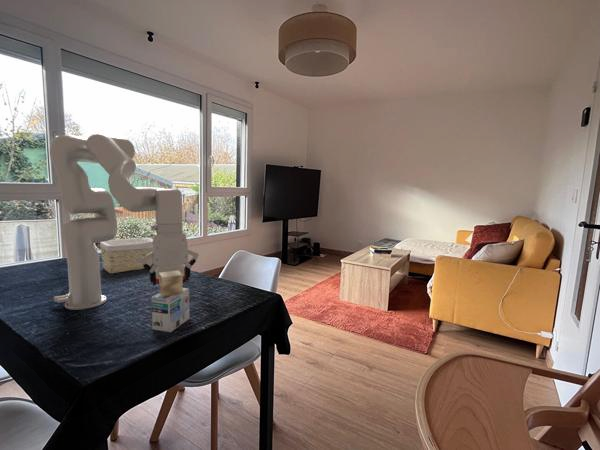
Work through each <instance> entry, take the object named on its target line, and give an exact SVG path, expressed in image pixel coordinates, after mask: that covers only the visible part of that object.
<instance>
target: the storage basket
mask: <svg viewBox="0 0 600 450" xmlns="http://www.w3.org/2000/svg"><path fill="white" fill-rule="evenodd" d="M152 246H153V238H151V237H134V238H133V237H131V238H121V239H120V238H119V239H112V240H109V241H104V242H99V247H100V250H101V251H100V252H101V260H102V267H103V269H104V270H105V271H106V272H107V273H109V274H116V273H117V274H118V273H122V272H123V273H124V272H129V271H138V270H142V269H143V270H144V269H145V268H144V267H143V265H142V264H141V262H140V261H139V259H140V258H141V257H143V256H145V255H147V254H149V253H150V252H152ZM146 263H147V264H148V265H149V266H151V265H152V264H153V261H152V257H151V258H150V259H148V260H146Z"/></svg>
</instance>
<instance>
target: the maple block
mask: <svg viewBox="0 0 600 450" xmlns="http://www.w3.org/2000/svg"><path fill="white" fill-rule="evenodd" d="M183 281H184V280H183V275H182V274H181V273H180V271H179V270H178V271H169V272H161V273H159V282H158V285H159V289H158V290H159V293H161V295H162V297H164V296H170V295H177V294H183V288H184V287H183V283H184V282H183Z"/></svg>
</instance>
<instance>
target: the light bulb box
mask: <svg viewBox="0 0 600 450" xmlns="http://www.w3.org/2000/svg"><path fill="white" fill-rule="evenodd" d="M151 314H152V315H151V318H152V330H154V331H160V332H167V333H172V332H173V331H175V330H176V329H177V328H179V327H180V326H181V325H183V324H184V323H185V322H187V321H188V320H190V288H187V287H183V294H177V295H170V296H164V297H162V295H161V293H160V292H159V293H156V294H155V295H153V296H151Z"/></svg>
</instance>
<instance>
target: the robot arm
mask: <svg viewBox="0 0 600 450" xmlns="http://www.w3.org/2000/svg"><path fill="white" fill-rule="evenodd" d="M135 149H136V148H135V145H134V144H133V143H132V141H130V140H129V139H128V138H126V137H124V136H118V135H112V134H106V133H94V134H91V135H90V136H88V137H83V136H80V135H78V136H77V135H70V134H69V135H67V134H63V135H59V136H56V137H55V138H54V139H53V140H52V141H51V143H50V147H49V157H50V161H51V163H52V165H53V168H54V170H55V172H56V175H57V180H58V185H59V193H60V197H61V198H60V199H61V202H62V203H61V204H62V207H63V210H64V212H66V213H67V214H69V215H74V216H75V215H77V216H80V215H94V217H93V216H92V217H82V218H75V219H70V220H68V221H66V222H65V223H63V225H62V227H61V230H60V231H61V237H62V240H63V243H64V247H65V254H66V263H67V274H68V275H67V276H68V289H69V291H68V293H66V294H65V295H56V296H54V297H53V302H54V303H56V302H57V303H58V304H59V303H64V302H65V303H64V307H65V309H68V310H71V311H72V310H73V311H75V310H76V311H77V310H78V311H79V310H80V311H81V310H86V309H87V310H88V309H91V308H95V307H98V306H101V305H103V304H105V303H106V302H107V300H108V299H107V295H104V294H102V280H101V279H102V278H101V263H100V254H99V252H98V250H97V249H96V248H95V247H94V246H93V244H96V243H100V242H104V241H109V240H114V238H116V237H117V235H118V223H117V222H118V221H117V216H116V210H115V209H116V208H115V202H114V199H115V201H116V202H117V203H118V205H120V206H121V207H122V208H123V209H125V210H126V211H128V212H131V213H143V212H155V224H154V225H151V226H150V230H151V231H155V232H154V234H153V238H152V239H153V246H152V252H150V253H149V254H147V255H145V256H143V257H141V258H140V259H139V261H140V262H141V264H142V265H143V267H144V269H145V270H147V271H148V272H149V281H150V283H152V284H153V286H156V285H157V282H156V272H155V270H156V268H157V267H163V266H172V265H181V264H183V265H184V278H185V279H184V280H185V281H187V282H188V281H189V280H190V279H189V278H191V269H192V267H193V266H194V264H195V263H196V262H197V260H198V259H199V253H198V252H196V251H193V250H191V249H189V247H188V240H187V239H188V238H187V234H186V232H184V230H183V228H184V227H183V194H182V191H181V190H180V189H178V188H162V187H155V186H154V187H151V186H150V187H149V186H144V187H143V186H133V185H132V184H131V183H130V182H129V180H128V179H129V178H130V177H131V176H132V175H134V173H135V171H136V168H137V165H136V163H135V161H134V160H133V159H134V157H135V155H136V150H135ZM78 162H80V163H81V162H83V163H89V164H90V163H93V164H99V166H101V167H102V168H103V170H104V171H106V173H107V174H108V175H109V176H108V180H107V182H108V184H107V185H108V190H109V191H108V190H106V189H105V188H98V187H95V188H94V187H93V188H92V187H91V186H90V182H89V177H88V174H87V172H86V171H85V169H84V168H83V167H82V166H81V165H80V164H79V163H78ZM189 255H190V256H192V257H191V259H189ZM151 257H152V261H153V264H152V265H151V266H149V265H148V264H147V263H146V260H148V259H150V258H151Z"/></svg>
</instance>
